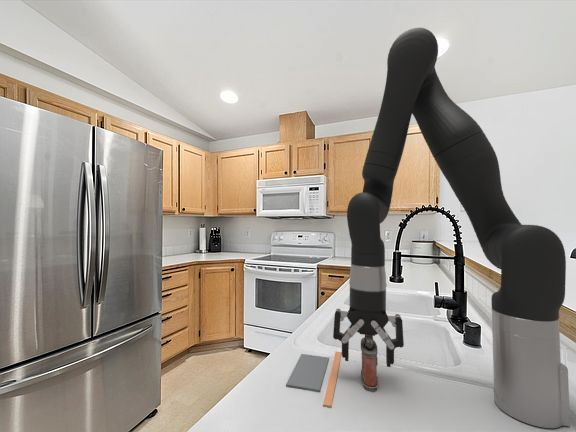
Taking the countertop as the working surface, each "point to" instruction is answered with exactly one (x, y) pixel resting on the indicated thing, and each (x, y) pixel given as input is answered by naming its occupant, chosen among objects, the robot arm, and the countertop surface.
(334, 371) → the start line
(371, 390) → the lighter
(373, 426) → the countertop surface
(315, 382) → the mat
